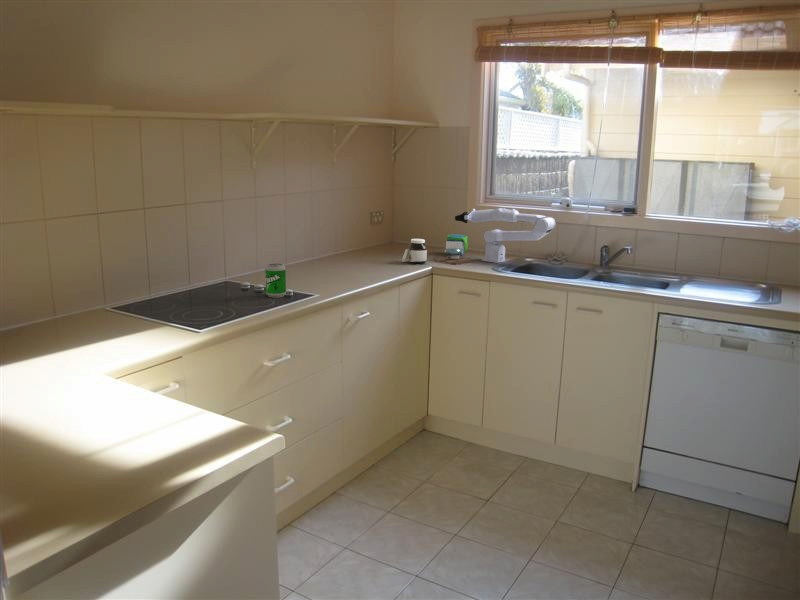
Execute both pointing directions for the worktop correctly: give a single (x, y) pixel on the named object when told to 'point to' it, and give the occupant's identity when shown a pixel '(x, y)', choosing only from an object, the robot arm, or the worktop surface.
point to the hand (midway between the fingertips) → (459, 217)
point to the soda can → (275, 280)
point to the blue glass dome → (453, 248)
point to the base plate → (462, 260)
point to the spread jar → (416, 252)
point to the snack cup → (459, 239)
